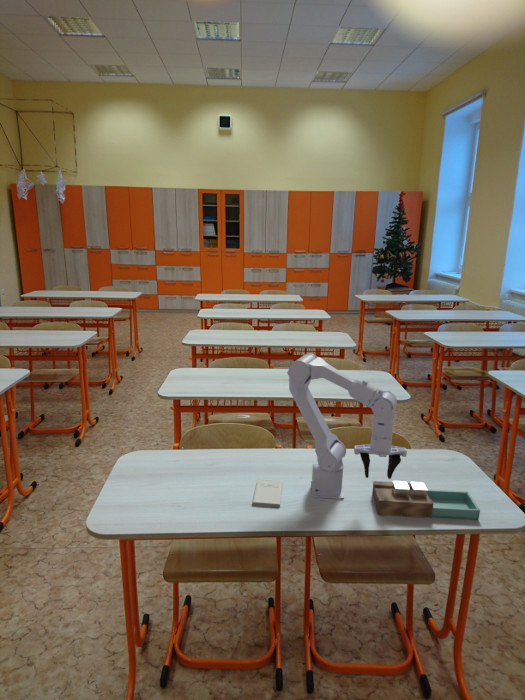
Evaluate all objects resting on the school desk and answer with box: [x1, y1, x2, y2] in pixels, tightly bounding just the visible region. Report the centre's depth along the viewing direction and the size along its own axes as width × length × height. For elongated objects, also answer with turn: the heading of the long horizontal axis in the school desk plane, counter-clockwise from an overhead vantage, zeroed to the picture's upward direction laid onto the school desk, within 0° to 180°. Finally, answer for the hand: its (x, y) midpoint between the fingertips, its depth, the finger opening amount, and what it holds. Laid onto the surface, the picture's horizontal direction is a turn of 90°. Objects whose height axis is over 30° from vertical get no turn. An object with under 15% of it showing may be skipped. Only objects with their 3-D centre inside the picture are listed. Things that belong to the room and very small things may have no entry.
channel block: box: [371, 480, 433, 519], centre depth 130 cm, size 15×10×5 cm, turn 86°
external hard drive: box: [252, 479, 284, 508], centre depth 135 cm, size 2×8×12 cm
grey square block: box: [392, 480, 410, 498], centre depth 129 cm, size 4×4×3 cm
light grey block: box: [409, 481, 429, 499], centre depth 129 cm, size 4×4×3 cm
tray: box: [427, 489, 481, 520], centre depth 129 cm, size 13×9×3 cm
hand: (377, 476), depth 129 cm, fingers open, 6 cm apart
